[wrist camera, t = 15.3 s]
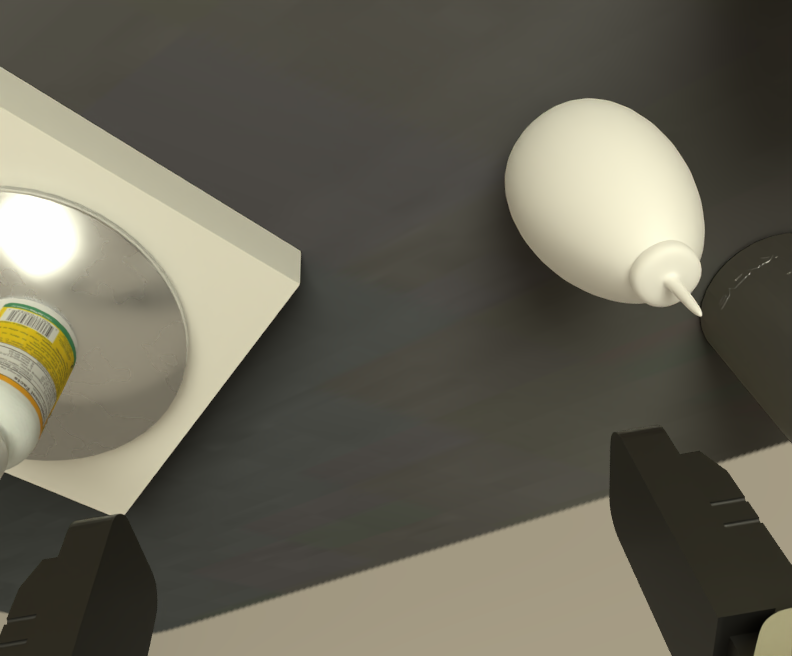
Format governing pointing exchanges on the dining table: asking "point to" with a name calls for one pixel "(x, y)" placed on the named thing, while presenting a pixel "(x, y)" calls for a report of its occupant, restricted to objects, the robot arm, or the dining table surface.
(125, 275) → the scale pan
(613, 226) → the white rubber air blower
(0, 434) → the supplement bottle
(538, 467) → the dining table surface
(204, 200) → the scale base
